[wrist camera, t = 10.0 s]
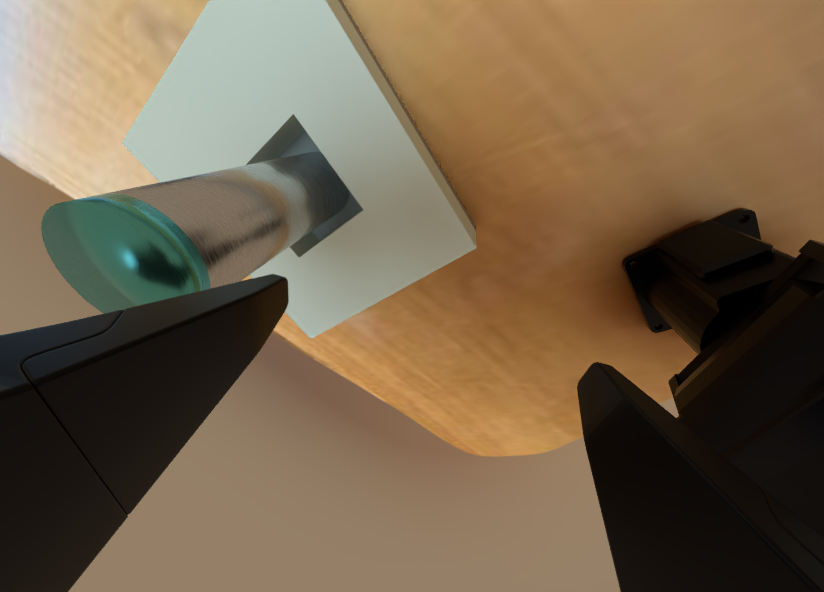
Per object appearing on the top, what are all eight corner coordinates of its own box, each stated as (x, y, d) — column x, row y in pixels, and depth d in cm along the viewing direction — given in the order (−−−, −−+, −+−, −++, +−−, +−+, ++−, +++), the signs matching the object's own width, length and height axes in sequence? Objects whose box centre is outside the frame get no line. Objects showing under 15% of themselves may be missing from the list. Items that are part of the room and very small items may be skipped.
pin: (359, 175, 18) (189, 258, 7) (336, 227, 20) (178, 352, 9) (301, 138, 18) (28, 168, 7) (284, 195, 20) (53, 289, 9)
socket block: (475, 226, 20) (476, 248, 16) (332, 310, 26) (310, 339, 22) (315, -44, 14) (267, -94, 11) (180, 139, 20) (121, 143, 17)
